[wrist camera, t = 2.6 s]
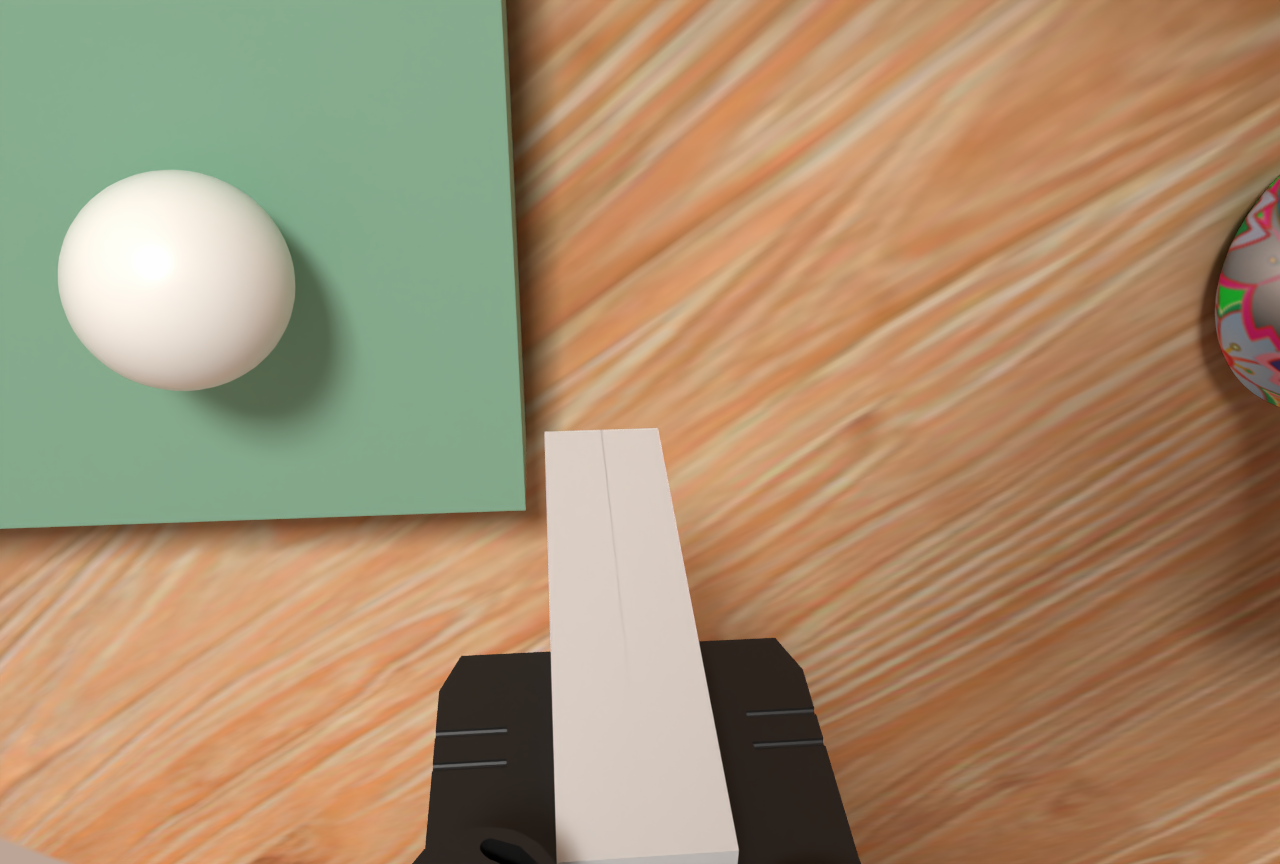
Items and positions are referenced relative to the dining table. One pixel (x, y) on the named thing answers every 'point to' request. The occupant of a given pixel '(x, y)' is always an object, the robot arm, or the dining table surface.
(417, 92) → the green golf putting board
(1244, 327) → the mug
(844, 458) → the dining table surface
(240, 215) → the ball
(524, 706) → the robot arm
